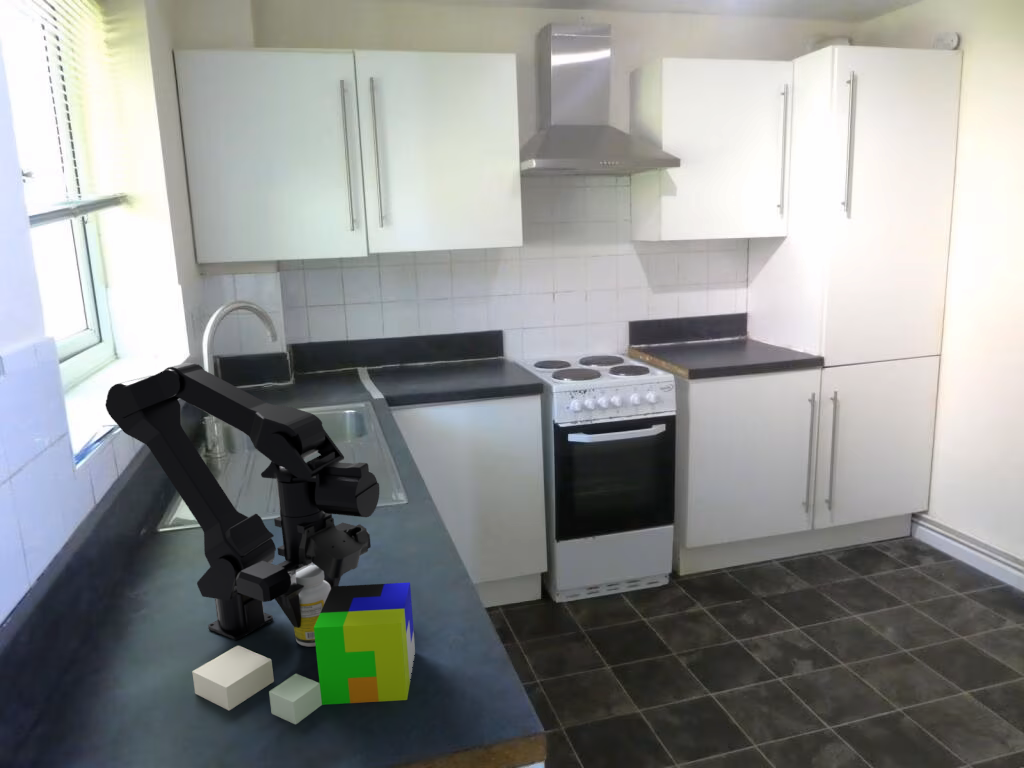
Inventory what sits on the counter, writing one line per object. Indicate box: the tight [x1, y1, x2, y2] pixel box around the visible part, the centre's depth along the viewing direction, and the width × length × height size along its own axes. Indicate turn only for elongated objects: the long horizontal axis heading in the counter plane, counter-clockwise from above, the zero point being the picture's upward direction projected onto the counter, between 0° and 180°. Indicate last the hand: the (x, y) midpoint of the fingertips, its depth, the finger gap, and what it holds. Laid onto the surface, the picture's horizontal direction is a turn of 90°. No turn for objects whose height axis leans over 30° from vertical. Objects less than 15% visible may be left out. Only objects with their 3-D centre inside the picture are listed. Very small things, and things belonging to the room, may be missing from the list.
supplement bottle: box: [293, 564, 331, 647], centre depth 99 cm, size 5×5×10 cm
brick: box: [268, 673, 323, 725], centre depth 85 cm, size 4×4×3 cm
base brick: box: [191, 645, 275, 711], centre depth 89 cm, size 6×6×3 cm
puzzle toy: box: [314, 581, 416, 706], centre depth 90 cm, size 10×10×10 cm
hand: (313, 617), depth 100 cm, fingers closed on supplement bottle, 5 cm apart
